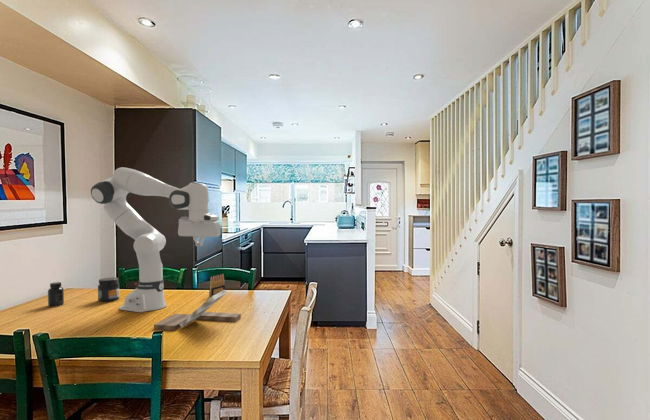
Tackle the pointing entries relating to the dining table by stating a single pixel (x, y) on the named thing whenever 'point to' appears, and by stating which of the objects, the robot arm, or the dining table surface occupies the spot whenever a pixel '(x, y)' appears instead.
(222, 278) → the ammunition clip
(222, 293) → the ash plank
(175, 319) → the walnut boards
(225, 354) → the dining table surface
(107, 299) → the supplement container
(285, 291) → the dining table surface
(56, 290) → the supplement bottle
